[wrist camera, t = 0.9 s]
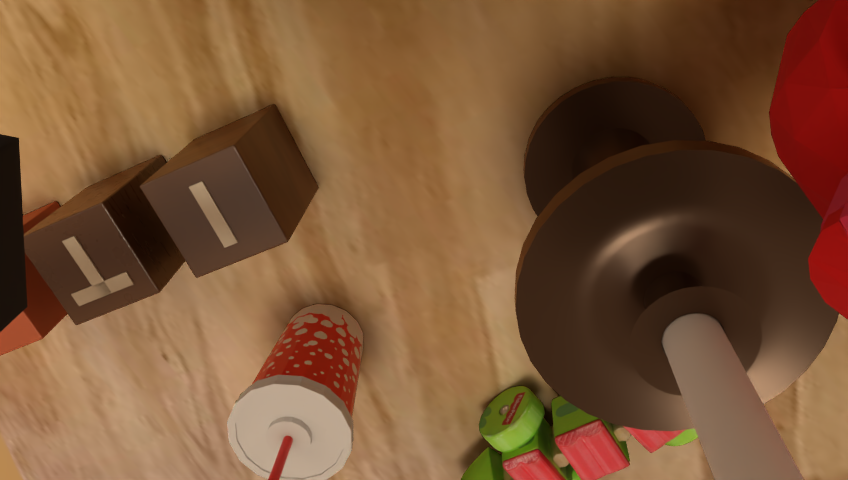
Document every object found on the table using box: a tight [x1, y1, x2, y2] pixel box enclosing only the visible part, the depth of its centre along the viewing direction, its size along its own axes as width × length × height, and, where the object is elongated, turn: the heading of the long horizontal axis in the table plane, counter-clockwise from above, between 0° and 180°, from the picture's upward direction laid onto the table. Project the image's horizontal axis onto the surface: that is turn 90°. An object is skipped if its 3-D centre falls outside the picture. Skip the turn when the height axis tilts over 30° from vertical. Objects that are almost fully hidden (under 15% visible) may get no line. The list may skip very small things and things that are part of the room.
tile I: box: [140, 105, 318, 278], centre depth 38 cm, size 5×5×7 cm
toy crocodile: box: [461, 386, 698, 480], centre depth 42 cm, size 20×7×6 cm, turn 129°
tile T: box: [24, 155, 185, 325], centre depth 39 cm, size 5×5×7 cm
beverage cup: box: [227, 304, 363, 480], centre depth 39 cm, size 6×6×14 cm
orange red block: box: [0, 202, 68, 355], centre depth 41 cm, size 5×5×7 cm
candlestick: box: [515, 77, 839, 480], centre depth 23 cm, size 11×11×35 cm
